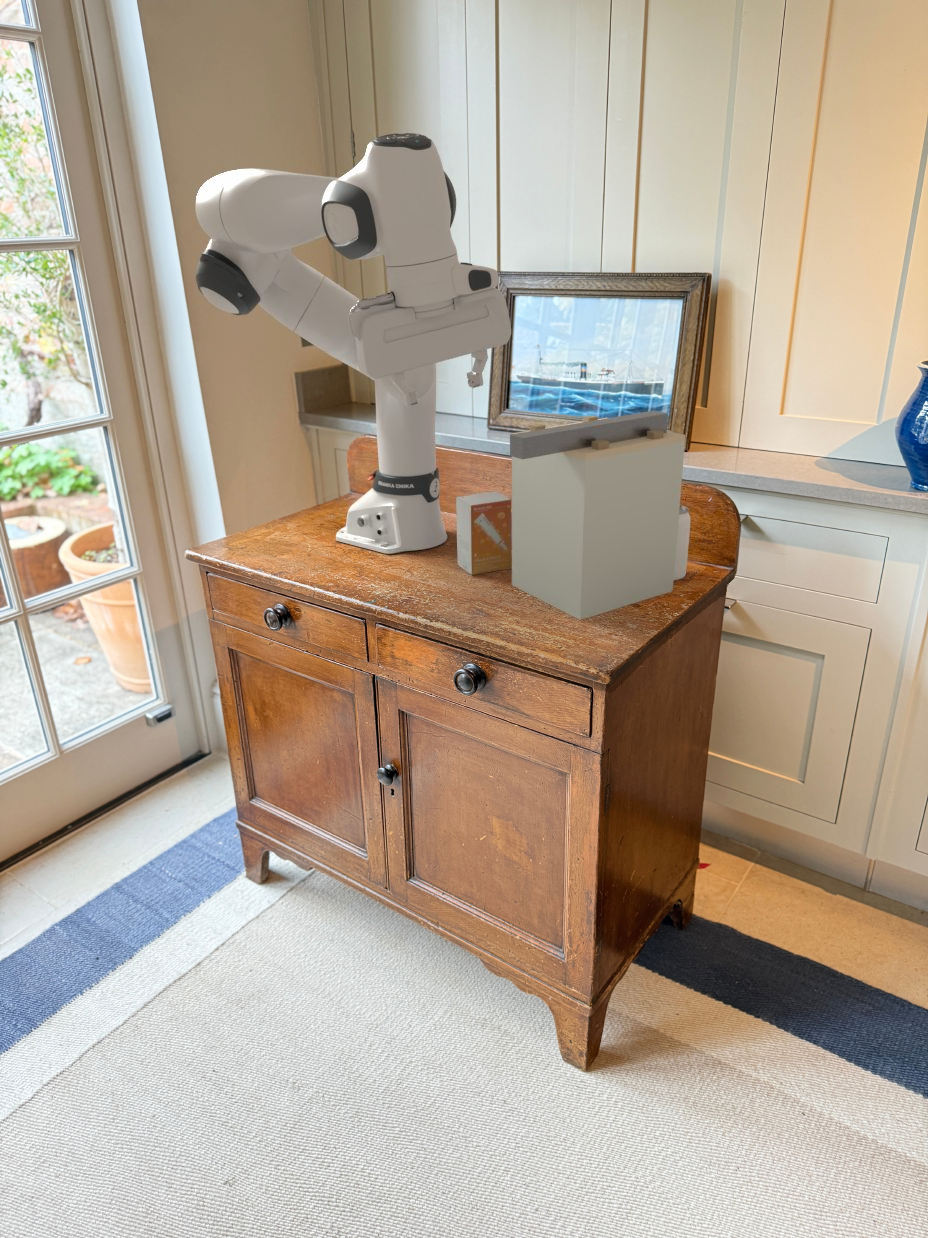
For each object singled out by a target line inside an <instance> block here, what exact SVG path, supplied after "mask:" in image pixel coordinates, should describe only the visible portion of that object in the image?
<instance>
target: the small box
mask: <svg viewBox="0 0 928 1238" xmlns="http://www.w3.org/2000/svg"><path fill="white" fill-rule="evenodd" d="M455 503H456V505H455V506H456V507H455V508H456V510H455V512H456V544H457V545H456V546H457V547H456V549H457V551H456V553H457V566H458V567H460V568H461V569H463V570H464V571H465V572H467V573H468V574H470V576H475V575H479V574H486V573H490V572H491V573H492V572H496V571H502V570H509V569H512V550H511V512H512V498H509V497H508V496H506V495H504V494H502V493H501V492H498V491H497V490H494V491H489V492H488V491H487V492H481V493H479V492H478V493H473V494H469V495H463V496H462V495H461V496H456V497H455Z"/></svg>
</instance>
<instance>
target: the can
mask: <svg viewBox="0 0 928 1238" xmlns="http://www.w3.org/2000/svg"><path fill="white" fill-rule="evenodd" d="M689 511H690V509H689V507H687V506H685V505H683V504H682V505H681V504H680V508H679V520H678V532H677V544H676V556H675V568H674V580H673V582H676V581H680V580H682V579H683V578H684V577H685V576H687V575H686V574H687V565H688V556H689V554H688V553H689V543H690V532H691V522H692V521H691V515H690V513H689Z"/></svg>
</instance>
